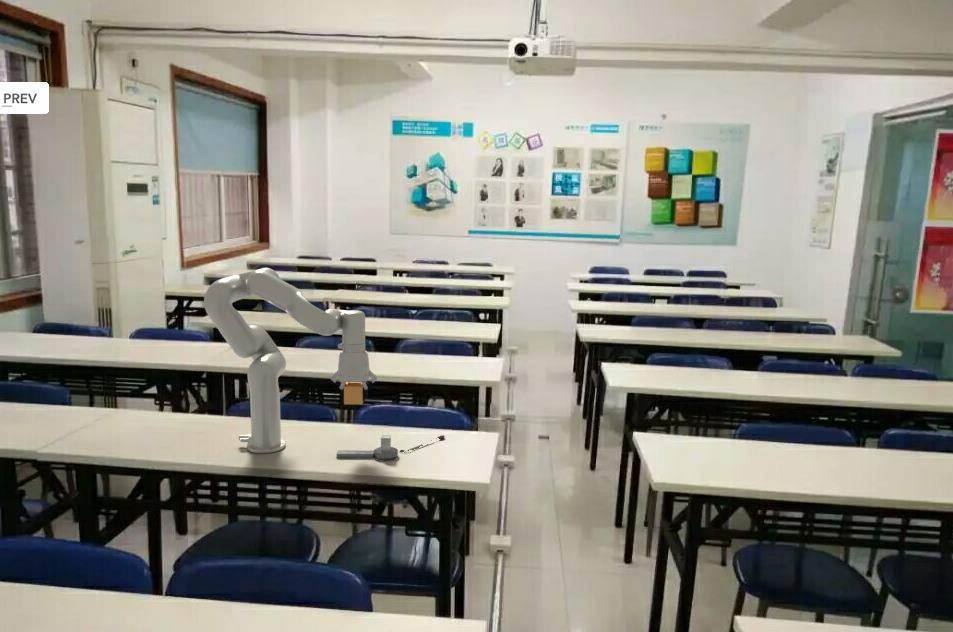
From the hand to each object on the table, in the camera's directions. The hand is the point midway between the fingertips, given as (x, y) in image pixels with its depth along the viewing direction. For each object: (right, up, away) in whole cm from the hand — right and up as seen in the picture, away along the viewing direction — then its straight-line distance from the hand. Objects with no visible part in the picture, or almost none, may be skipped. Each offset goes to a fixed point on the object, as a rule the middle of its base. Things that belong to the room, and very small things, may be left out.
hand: (354, 399), depth 225 cm
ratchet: (+5, -19, -3) cm, 20 cm away
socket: (0, -1, 0) cm, 1 cm away
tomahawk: (+24, -18, +8) cm, 31 cm away
